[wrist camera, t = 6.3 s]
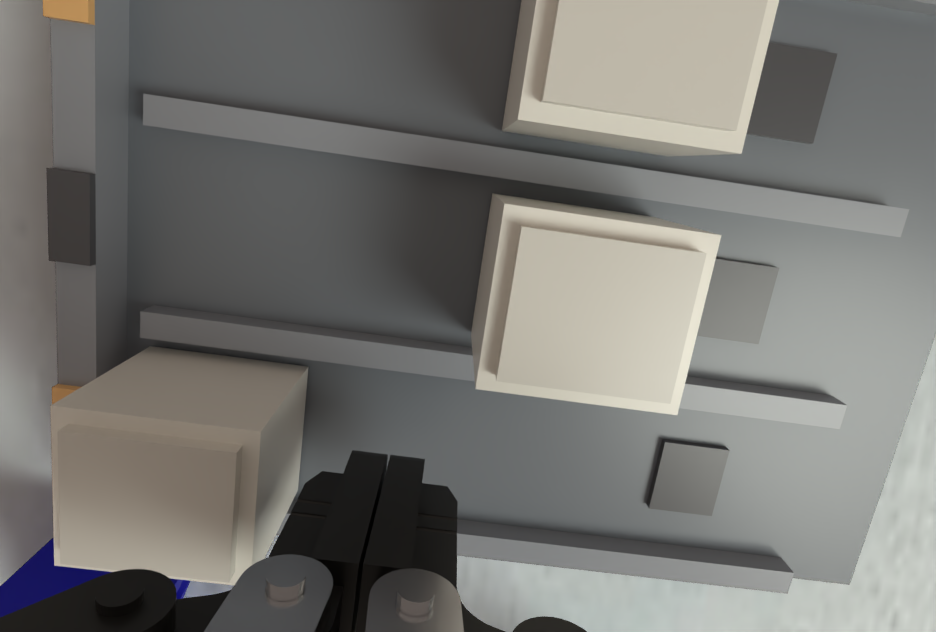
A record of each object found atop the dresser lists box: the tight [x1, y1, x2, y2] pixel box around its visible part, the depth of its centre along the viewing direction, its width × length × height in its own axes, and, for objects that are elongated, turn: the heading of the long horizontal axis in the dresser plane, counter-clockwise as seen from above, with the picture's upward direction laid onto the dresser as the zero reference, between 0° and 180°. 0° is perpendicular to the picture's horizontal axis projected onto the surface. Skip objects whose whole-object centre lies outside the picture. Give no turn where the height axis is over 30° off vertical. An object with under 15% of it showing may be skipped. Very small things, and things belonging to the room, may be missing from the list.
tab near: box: [502, 0, 779, 156], centre depth 11 cm, size 4×3×4 cm
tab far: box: [50, 346, 308, 585], centre depth 12 cm, size 4×3×4 cm
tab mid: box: [471, 193, 721, 415], centre depth 12 cm, size 4×3×4 cm
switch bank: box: [43, 0, 936, 594], centre depth 14 cm, size 20×14×3 cm
